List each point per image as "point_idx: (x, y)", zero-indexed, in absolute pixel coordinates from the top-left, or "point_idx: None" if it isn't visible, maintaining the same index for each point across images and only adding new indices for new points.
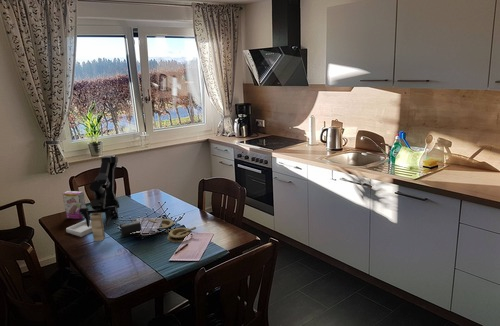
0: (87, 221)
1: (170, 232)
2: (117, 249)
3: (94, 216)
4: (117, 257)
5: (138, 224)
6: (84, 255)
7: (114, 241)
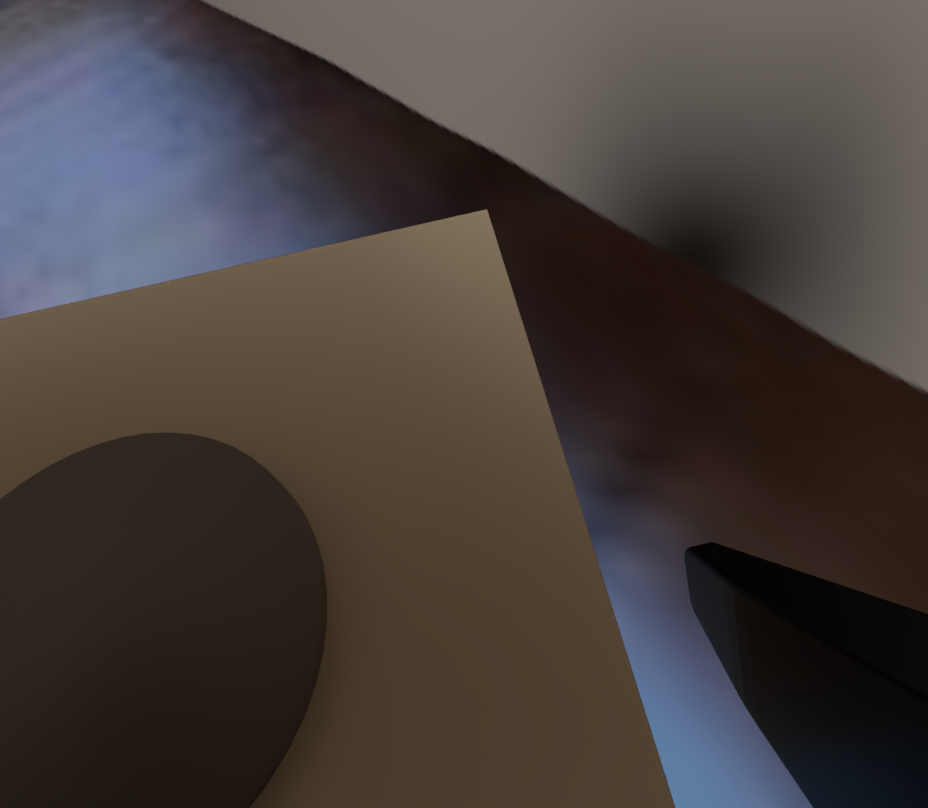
0: (835, 617)
1: None
2: None
3: (191, 289)
4: (64, 236)
5: None
6: None
7: None
